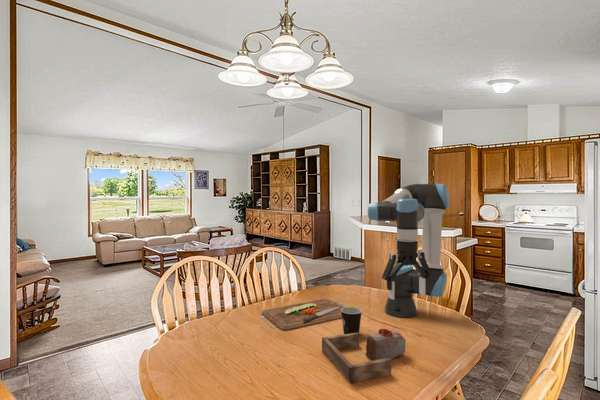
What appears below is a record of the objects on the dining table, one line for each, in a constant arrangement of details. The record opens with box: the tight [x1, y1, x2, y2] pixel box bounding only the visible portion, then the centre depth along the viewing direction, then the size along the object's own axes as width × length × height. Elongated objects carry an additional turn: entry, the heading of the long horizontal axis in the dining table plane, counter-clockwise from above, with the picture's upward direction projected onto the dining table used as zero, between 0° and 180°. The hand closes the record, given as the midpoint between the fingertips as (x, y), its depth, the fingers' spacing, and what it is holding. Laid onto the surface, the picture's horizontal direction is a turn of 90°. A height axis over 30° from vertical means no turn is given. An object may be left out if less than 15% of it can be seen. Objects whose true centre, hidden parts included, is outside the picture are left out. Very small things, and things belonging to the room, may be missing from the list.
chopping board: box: [259, 298, 348, 332], centre depth 167 cm, size 45×27×3 cm, turn 118°
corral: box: [321, 332, 392, 384], centre depth 120 cm, size 15×23×5 cm, turn 19°
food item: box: [365, 328, 407, 361], centre depth 124 cm, size 14×8×10 cm, turn 117°
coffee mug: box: [341, 306, 363, 335], centre depth 145 cm, size 12×9×10 cm
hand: (407, 296), depth 127 cm, fingers open, 13 cm apart
